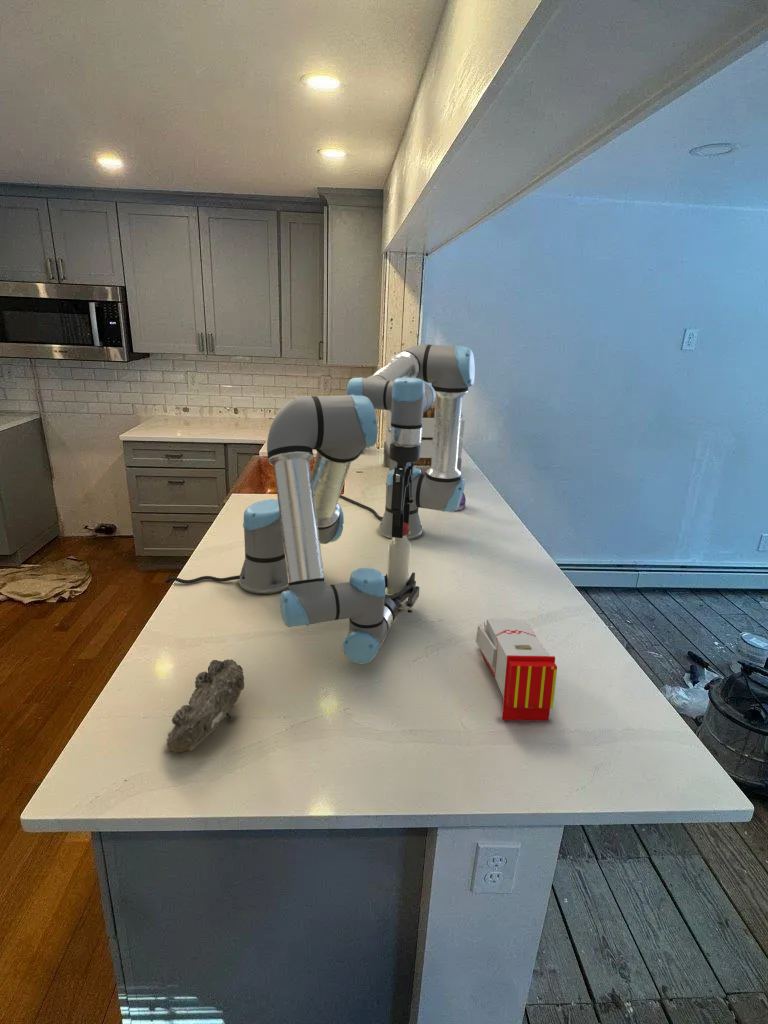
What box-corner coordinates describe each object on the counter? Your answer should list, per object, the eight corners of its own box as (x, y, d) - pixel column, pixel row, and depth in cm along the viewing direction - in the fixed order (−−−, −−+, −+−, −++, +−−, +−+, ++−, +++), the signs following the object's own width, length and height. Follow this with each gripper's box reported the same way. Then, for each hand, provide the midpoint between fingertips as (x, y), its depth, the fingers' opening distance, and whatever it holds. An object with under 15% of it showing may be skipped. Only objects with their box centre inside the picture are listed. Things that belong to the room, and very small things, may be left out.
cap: (408, 536, 143) (408, 528, 142) (390, 535, 143) (391, 527, 142) (409, 530, 147) (410, 522, 146) (392, 529, 147) (393, 521, 146)
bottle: (406, 600, 155) (411, 523, 147) (406, 610, 149) (411, 531, 142) (385, 599, 155) (389, 522, 147) (385, 609, 149) (389, 530, 142)
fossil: (192, 660, 117) (244, 628, 112) (224, 691, 120) (276, 661, 115) (142, 746, 98) (202, 712, 93) (182, 779, 101) (242, 748, 96)
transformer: (382, 463, 289) (386, 382, 275) (445, 464, 293) (451, 384, 279) (390, 482, 257) (394, 392, 243) (460, 483, 261) (468, 394, 247)
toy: (523, 604, 135) (566, 662, 106) (518, 656, 138) (559, 727, 109) (472, 603, 135) (501, 661, 105) (468, 655, 138) (496, 726, 108)
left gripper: (340, 623, 137) (369, 582, 158) (415, 637, 133) (434, 593, 154) (341, 595, 134) (370, 557, 156) (417, 609, 130) (436, 568, 151)
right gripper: (399, 434, 147) (394, 517, 155) (380, 450, 129) (376, 544, 137) (427, 437, 145) (421, 521, 153) (412, 454, 127) (406, 548, 135)
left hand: (402, 575), depth 155 cm, fingers closed on bottle, 6 cm apart
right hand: (400, 531), depth 145 cm, fingers open, 6 cm apart
